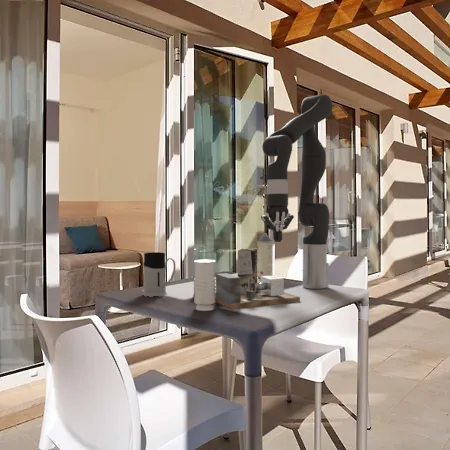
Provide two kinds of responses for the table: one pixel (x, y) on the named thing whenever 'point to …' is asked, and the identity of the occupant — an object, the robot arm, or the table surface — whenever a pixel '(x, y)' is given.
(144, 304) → the table surface
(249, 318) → the table surface
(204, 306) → the candle
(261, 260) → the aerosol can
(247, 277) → the coffee box
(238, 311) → the table surface
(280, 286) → the white block
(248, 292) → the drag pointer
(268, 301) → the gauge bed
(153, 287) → the grey handled cylinder
